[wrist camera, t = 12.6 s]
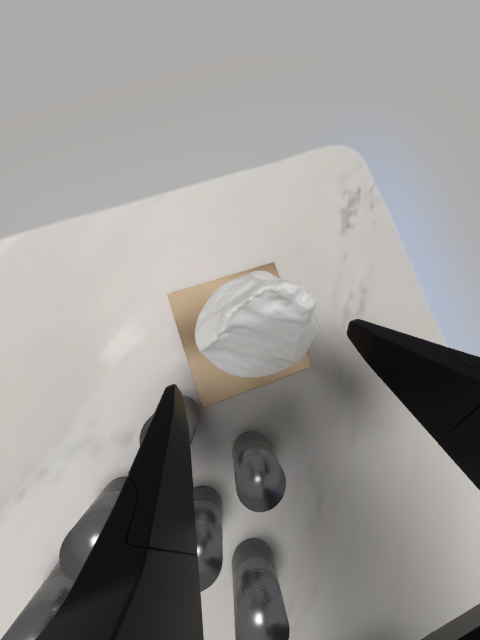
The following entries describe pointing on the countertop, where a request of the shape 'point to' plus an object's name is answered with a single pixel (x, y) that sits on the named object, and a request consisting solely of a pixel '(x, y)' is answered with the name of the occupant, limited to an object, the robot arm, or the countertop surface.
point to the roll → (256, 325)
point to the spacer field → (248, 560)
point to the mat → (206, 376)
